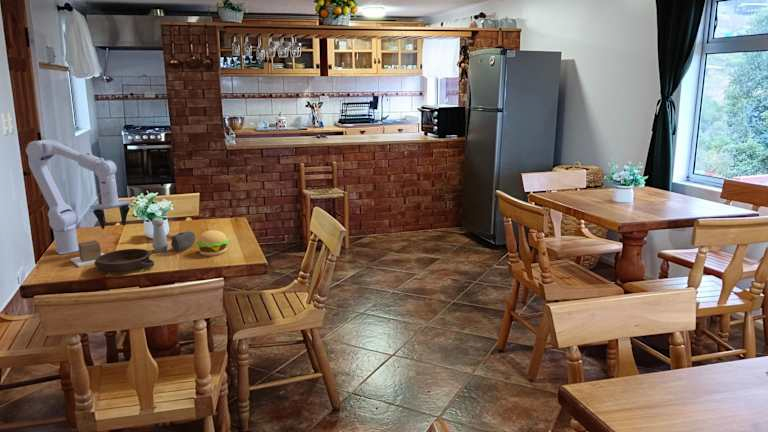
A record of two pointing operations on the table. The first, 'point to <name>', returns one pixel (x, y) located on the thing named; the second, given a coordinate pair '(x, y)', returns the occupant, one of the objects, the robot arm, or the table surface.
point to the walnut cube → (89, 250)
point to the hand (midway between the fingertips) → (113, 226)
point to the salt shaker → (159, 235)
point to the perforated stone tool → (182, 241)
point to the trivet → (80, 262)
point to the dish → (124, 261)
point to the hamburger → (212, 243)
